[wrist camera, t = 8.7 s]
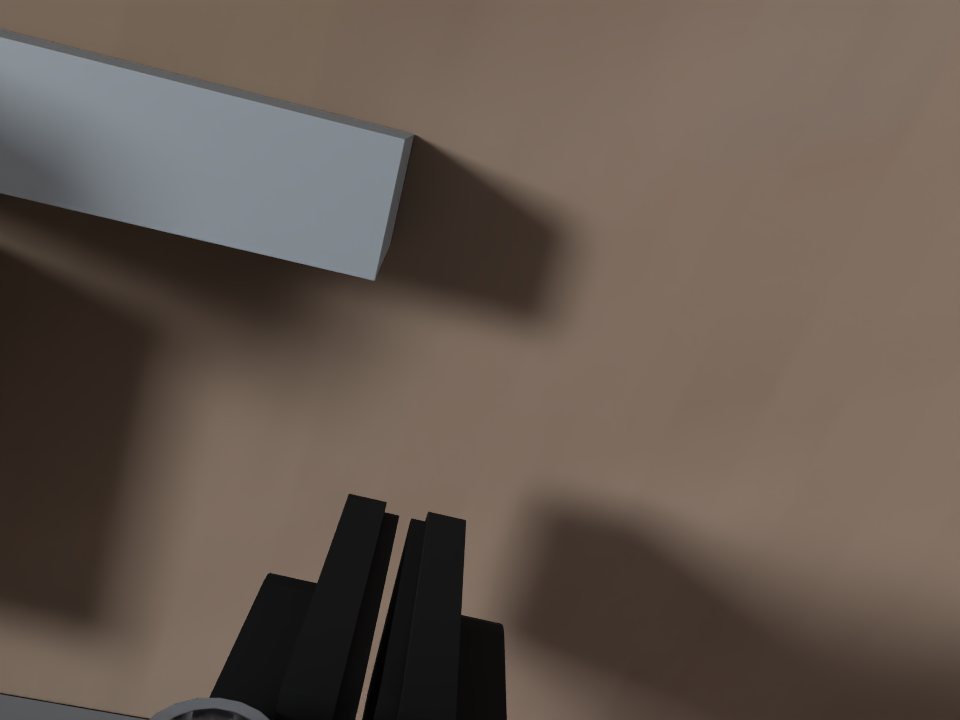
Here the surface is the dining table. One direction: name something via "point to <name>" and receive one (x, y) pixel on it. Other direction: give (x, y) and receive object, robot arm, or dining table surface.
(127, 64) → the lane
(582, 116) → the dining table surface
